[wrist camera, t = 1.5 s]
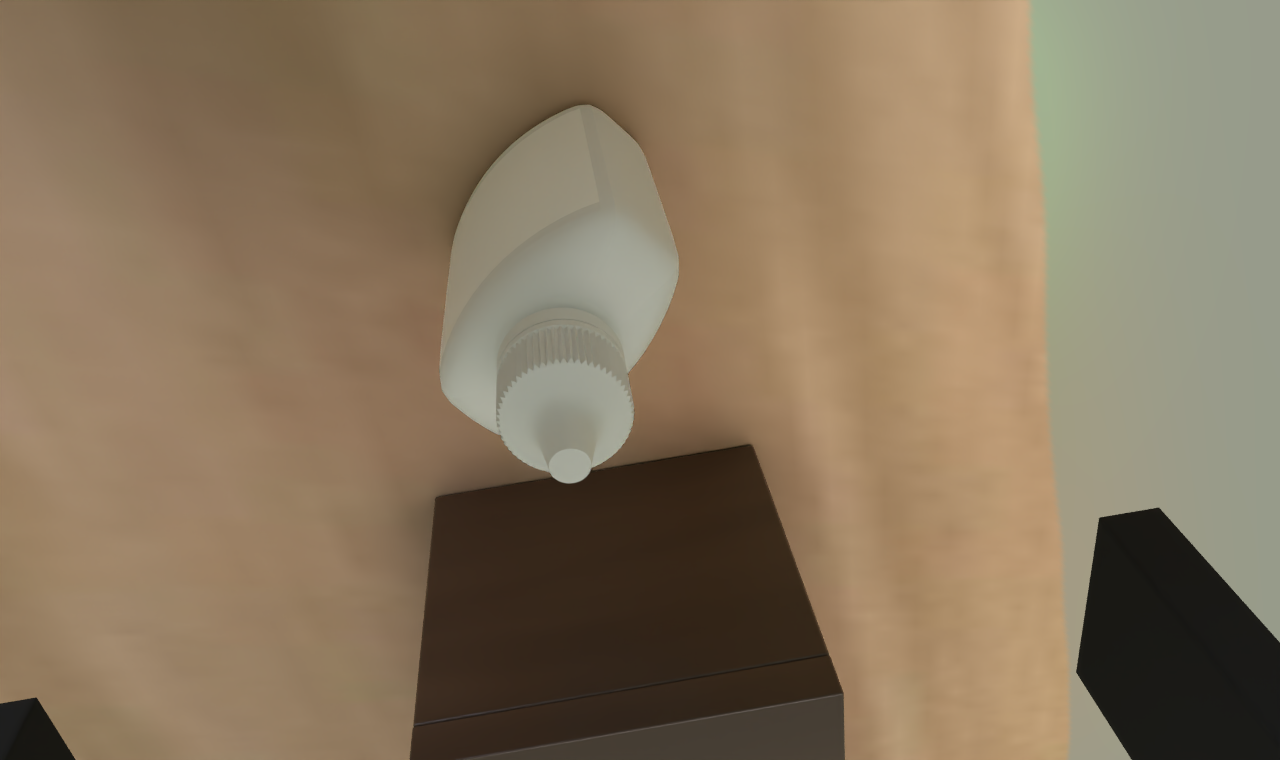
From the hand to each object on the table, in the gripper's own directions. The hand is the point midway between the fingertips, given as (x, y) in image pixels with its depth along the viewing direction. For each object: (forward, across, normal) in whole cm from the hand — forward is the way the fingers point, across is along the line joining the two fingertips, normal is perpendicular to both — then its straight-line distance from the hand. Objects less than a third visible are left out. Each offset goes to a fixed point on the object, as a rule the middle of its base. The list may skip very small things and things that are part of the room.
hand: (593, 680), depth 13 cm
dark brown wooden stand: (+16, 0, -18) cm, 24 cm away
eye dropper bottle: (+16, 0, 0) cm, 17 cm away
